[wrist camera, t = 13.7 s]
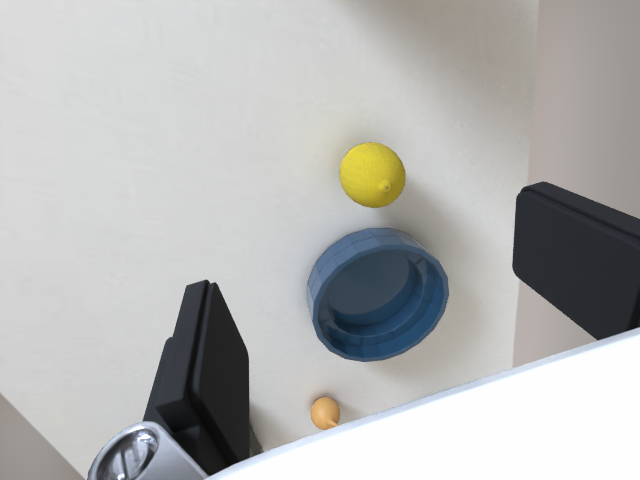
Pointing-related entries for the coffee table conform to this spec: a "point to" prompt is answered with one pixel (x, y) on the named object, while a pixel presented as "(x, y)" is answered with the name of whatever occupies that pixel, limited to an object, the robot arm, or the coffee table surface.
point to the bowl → (376, 294)
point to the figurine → (325, 413)
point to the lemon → (372, 175)
